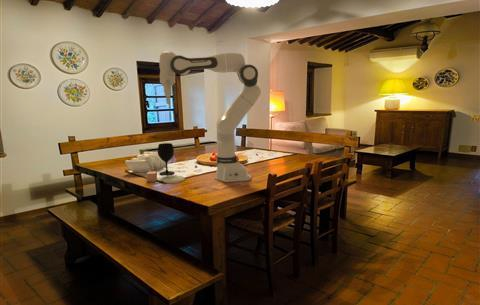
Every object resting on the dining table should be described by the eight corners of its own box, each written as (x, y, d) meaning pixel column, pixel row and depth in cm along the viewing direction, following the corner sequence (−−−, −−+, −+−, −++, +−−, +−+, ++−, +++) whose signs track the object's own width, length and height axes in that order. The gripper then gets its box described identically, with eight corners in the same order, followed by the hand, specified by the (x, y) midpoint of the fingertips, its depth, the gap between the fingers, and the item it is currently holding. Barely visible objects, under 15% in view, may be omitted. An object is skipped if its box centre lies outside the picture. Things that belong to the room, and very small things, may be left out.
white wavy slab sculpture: (143, 175, 204) (142, 159, 202) (123, 173, 209) (121, 158, 207) (171, 164, 236) (171, 150, 234) (153, 162, 242) (152, 149, 240)
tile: (186, 176, 199) (186, 175, 199) (182, 182, 185) (182, 181, 185) (164, 177, 199) (164, 175, 198) (159, 183, 185) (159, 181, 185)
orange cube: (157, 179, 194) (156, 171, 193) (155, 181, 189) (154, 173, 188) (149, 179, 194) (148, 171, 193) (147, 181, 189) (146, 173, 188)
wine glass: (159, 176, 201) (157, 145, 198) (158, 172, 211) (157, 143, 207) (175, 174, 204) (174, 144, 200) (174, 171, 214) (173, 142, 210)
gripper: (173, 79, 174) (174, 104, 177) (172, 81, 194) (173, 103, 197) (162, 79, 173) (162, 104, 176) (162, 80, 192) (162, 103, 195)
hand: (168, 103), depth 186 cm, fingers open, 8 cm apart
